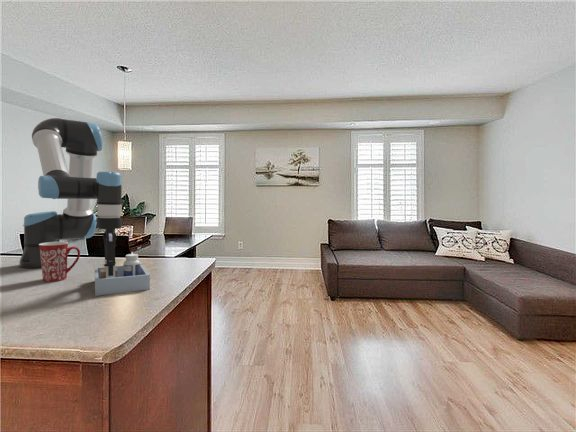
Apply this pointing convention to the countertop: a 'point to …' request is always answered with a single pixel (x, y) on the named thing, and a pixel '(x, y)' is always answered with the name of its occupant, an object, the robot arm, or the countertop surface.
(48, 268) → the mug
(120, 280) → the tote
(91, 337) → the countertop surface
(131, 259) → the pill bottle
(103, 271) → the wooden cube
